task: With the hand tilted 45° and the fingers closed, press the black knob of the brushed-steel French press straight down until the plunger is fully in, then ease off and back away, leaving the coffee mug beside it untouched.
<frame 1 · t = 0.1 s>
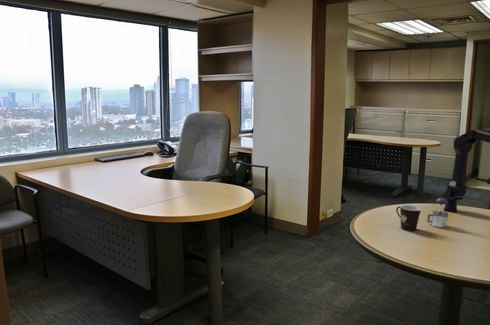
plunger: (440, 207, 185), point 9 cm above the table, slide at 0.0 cm
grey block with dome: (438, 225, 187), on the table
coffee mug: (407, 228, 183), on the table
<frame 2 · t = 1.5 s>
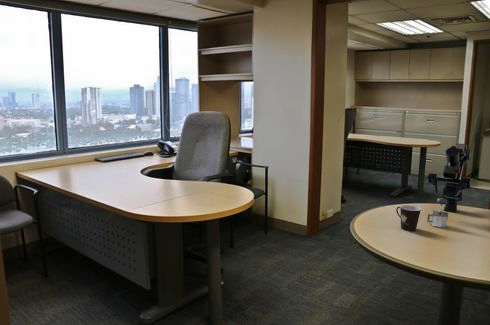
hand: (445, 194, 190), 13 cm above the table, tool tilted 45°, fingers open, 8 cm apart
nothing on the table moved.
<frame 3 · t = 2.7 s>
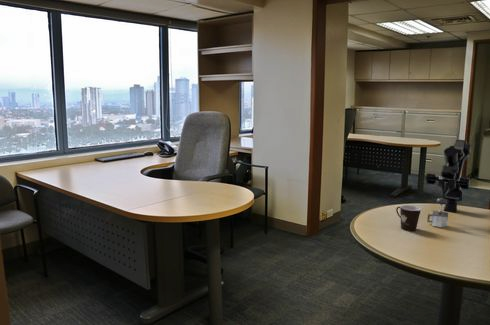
hand: (443, 195, 187), 14 cm above the table, tool tilted 45°, fingers closed
nothing on the table moved.
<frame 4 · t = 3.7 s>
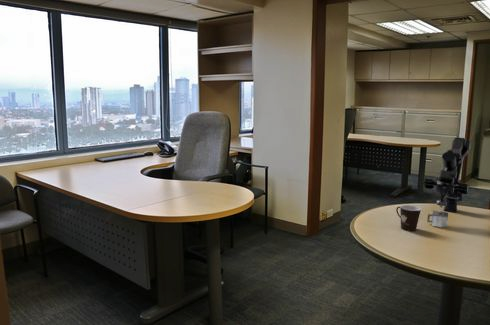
hand: (441, 200, 185), 12 cm above the table, tool tilted 45°, fingers closed, pressing on plunger
plunger: (440, 209, 185), point 8 cm above the table, slide at 0.9 cm, touching gripper
everything else where it was.
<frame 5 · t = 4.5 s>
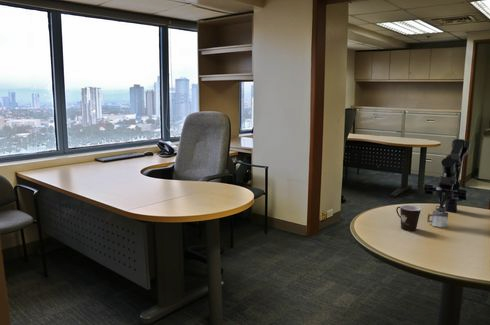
hand: (441, 206, 185), 9 cm above the table, tool tilted 45°, fingers closed, pressing on plunger
plunger: (440, 215, 186), point 5 cm above the table, slide at 3.8 cm, touching gripper
everything else where it was.
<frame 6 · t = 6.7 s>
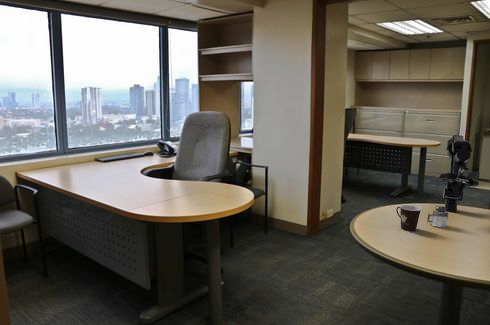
hand: (457, 197, 190), 12 cm above the table, tool tilted 20°, fingers closed
plunger: (440, 215, 186), point 5 cm above the table, slide at 3.8 cm
everything else where it was.
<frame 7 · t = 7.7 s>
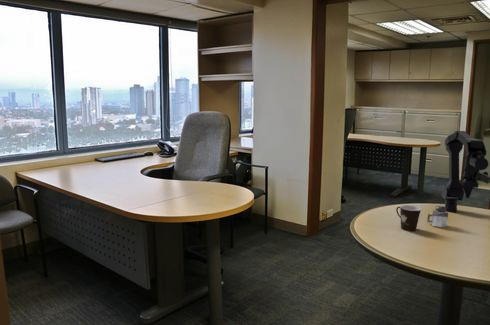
hand: (467, 197, 191), 12 cm above the table, tool pointing down, fingers closed
nothing on the table moved.
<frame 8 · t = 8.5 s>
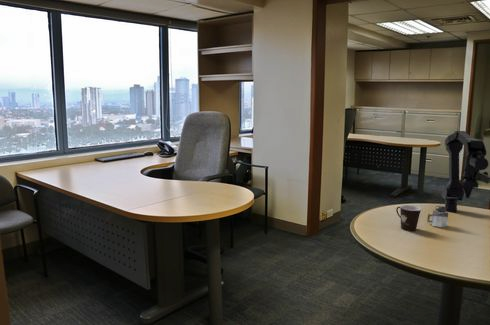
hand: (467, 197, 191), 12 cm above the table, tool pointing down, fingers closed
nothing on the table moved.
at the end: plunger slide at 3.8 cm; the gripper is holding nothing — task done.
